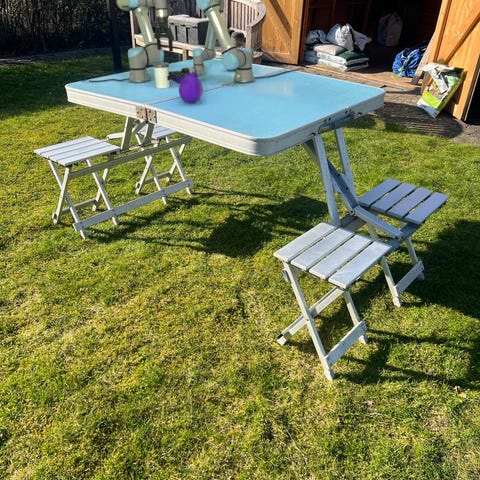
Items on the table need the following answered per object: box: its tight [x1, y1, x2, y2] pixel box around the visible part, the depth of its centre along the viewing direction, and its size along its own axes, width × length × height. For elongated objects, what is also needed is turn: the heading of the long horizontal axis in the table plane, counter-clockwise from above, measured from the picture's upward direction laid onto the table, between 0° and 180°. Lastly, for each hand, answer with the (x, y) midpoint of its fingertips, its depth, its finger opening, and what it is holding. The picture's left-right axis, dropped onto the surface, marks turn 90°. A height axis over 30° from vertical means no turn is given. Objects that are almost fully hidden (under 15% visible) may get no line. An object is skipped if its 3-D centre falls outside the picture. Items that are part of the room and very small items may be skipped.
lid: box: [152, 61, 170, 69], centre depth 313 cm, size 11×11×2 cm
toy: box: [168, 72, 204, 104], centre depth 278 cm, size 16×18×27 cm
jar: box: [153, 67, 171, 89], centre depth 316 cm, size 10×10×15 cm
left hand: (165, 50), depth 314 cm, fingers open, 13 cm apart
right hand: (162, 76), depth 318 cm, fingers open, 13 cm apart
